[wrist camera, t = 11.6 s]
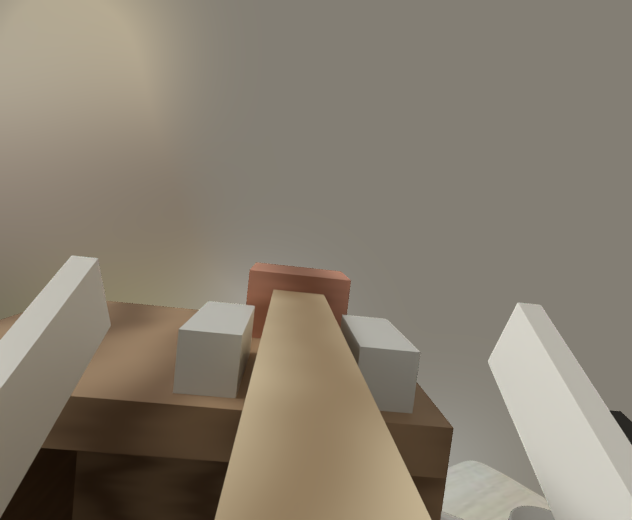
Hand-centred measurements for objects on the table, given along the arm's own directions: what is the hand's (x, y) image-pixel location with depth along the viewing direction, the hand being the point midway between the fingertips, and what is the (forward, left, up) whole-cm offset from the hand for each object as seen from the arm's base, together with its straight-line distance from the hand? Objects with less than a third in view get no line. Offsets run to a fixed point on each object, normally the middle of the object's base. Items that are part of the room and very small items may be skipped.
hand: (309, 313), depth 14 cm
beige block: (0, +4, -4) cm, 6 cm away
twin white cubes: (0, +6, -4) cm, 7 cm away
